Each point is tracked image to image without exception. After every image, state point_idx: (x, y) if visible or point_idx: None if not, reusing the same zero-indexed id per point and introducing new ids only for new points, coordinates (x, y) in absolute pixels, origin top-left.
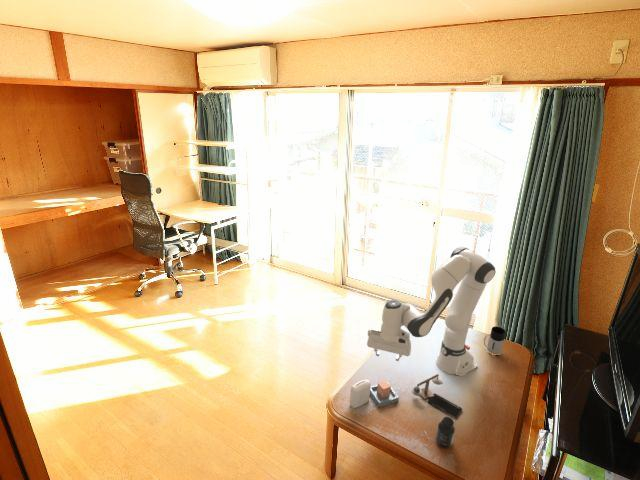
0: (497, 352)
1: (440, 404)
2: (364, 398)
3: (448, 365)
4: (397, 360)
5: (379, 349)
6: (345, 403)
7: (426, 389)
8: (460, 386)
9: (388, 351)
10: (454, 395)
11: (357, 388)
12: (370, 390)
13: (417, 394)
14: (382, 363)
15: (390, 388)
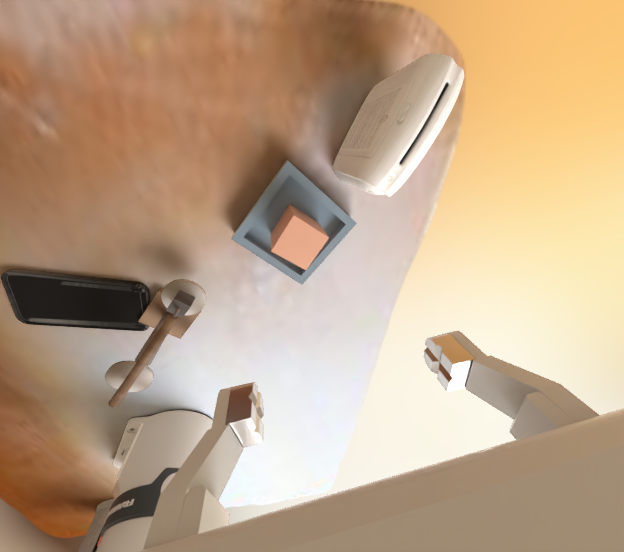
0: (96, 516)
1: (97, 299)
2: (353, 136)
3: (161, 436)
4: (232, 393)
5: (538, 440)
6: None
7: (159, 325)
8: (105, 392)
9: (385, 492)
10: (94, 356)
11: (432, 70)
12: (343, 211)
13: (171, 285)
14: (343, 345)
15: (271, 246)
